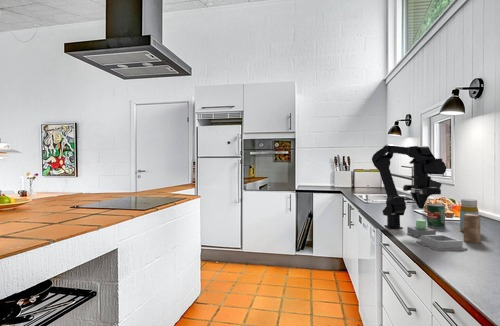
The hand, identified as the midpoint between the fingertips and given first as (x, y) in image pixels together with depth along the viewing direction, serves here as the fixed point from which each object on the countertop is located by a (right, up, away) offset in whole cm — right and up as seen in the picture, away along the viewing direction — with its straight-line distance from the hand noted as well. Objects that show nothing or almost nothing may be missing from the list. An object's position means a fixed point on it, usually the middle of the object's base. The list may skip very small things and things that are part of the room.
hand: (421, 208), depth 136 cm
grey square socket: (-2, -12, -17) cm, 21 cm away
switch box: (0, -12, 0) cm, 12 cm away
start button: (0, -10, 0) cm, 10 cm away
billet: (+15, -12, -11) cm, 22 cm away
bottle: (+26, -12, +6) cm, 29 cm away
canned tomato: (+18, -12, +18) cm, 28 cm away
